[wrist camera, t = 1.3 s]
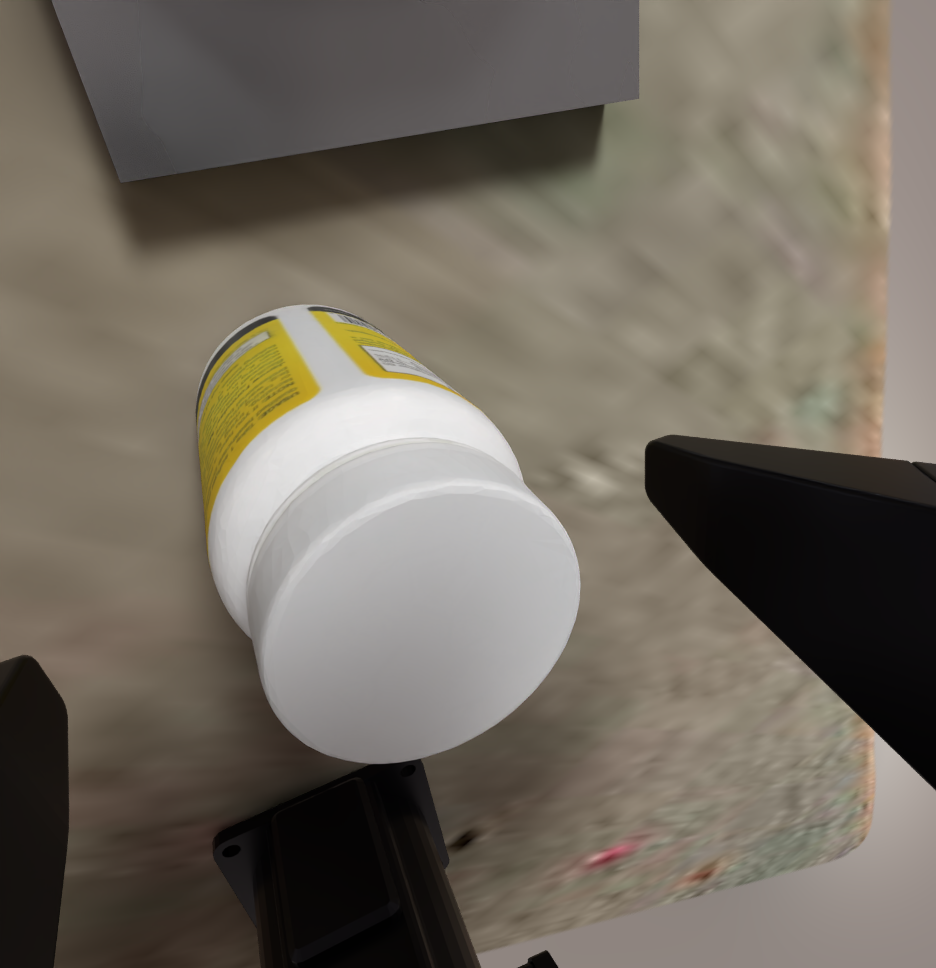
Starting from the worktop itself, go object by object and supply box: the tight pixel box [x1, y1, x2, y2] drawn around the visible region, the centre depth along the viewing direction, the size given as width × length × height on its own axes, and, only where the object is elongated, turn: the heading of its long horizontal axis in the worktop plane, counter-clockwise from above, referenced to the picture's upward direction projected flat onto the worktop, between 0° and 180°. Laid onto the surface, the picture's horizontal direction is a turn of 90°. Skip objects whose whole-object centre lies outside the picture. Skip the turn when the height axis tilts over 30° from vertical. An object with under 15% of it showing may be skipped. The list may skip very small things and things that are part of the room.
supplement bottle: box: [196, 305, 581, 764], centre depth 11 cm, size 5×5×8 cm
